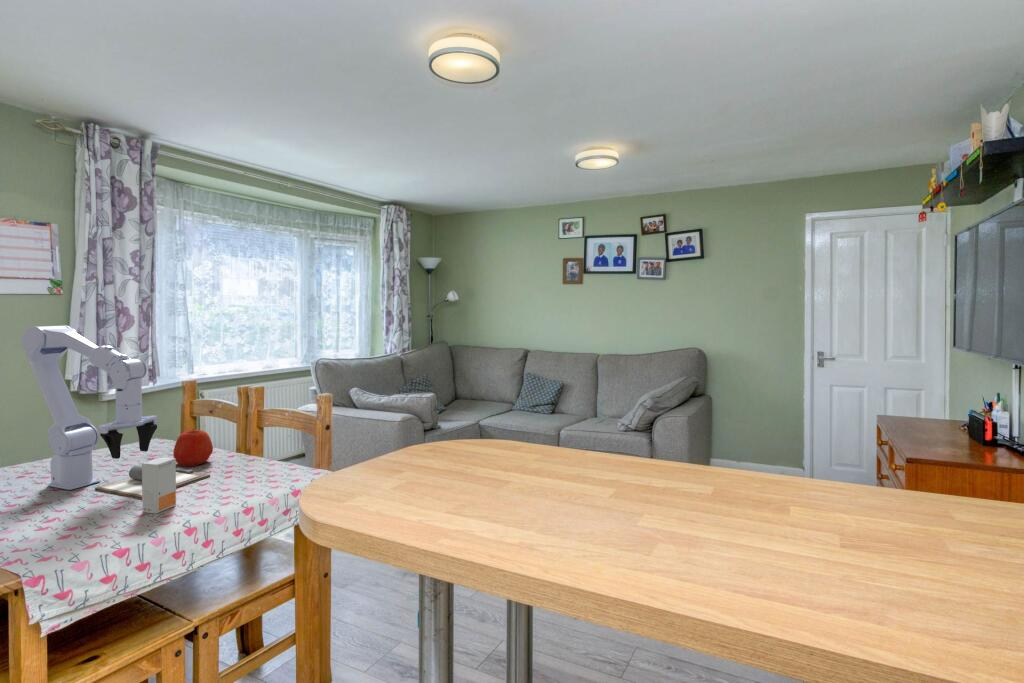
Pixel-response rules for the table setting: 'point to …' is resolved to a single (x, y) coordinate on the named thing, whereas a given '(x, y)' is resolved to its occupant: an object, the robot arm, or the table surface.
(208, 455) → the apple
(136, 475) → the marker
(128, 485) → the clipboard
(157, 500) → the skincare box
